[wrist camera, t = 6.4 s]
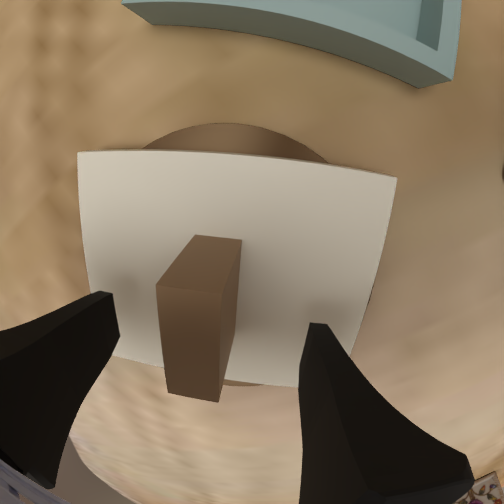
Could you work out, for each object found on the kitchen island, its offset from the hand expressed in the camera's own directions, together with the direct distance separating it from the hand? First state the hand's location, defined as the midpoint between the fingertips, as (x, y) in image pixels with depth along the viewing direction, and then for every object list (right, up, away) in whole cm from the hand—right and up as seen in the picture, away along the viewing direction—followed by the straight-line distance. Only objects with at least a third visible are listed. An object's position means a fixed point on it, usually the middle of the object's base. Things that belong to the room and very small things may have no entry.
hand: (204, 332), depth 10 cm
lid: (0, +2, +3) cm, 4 cm away
